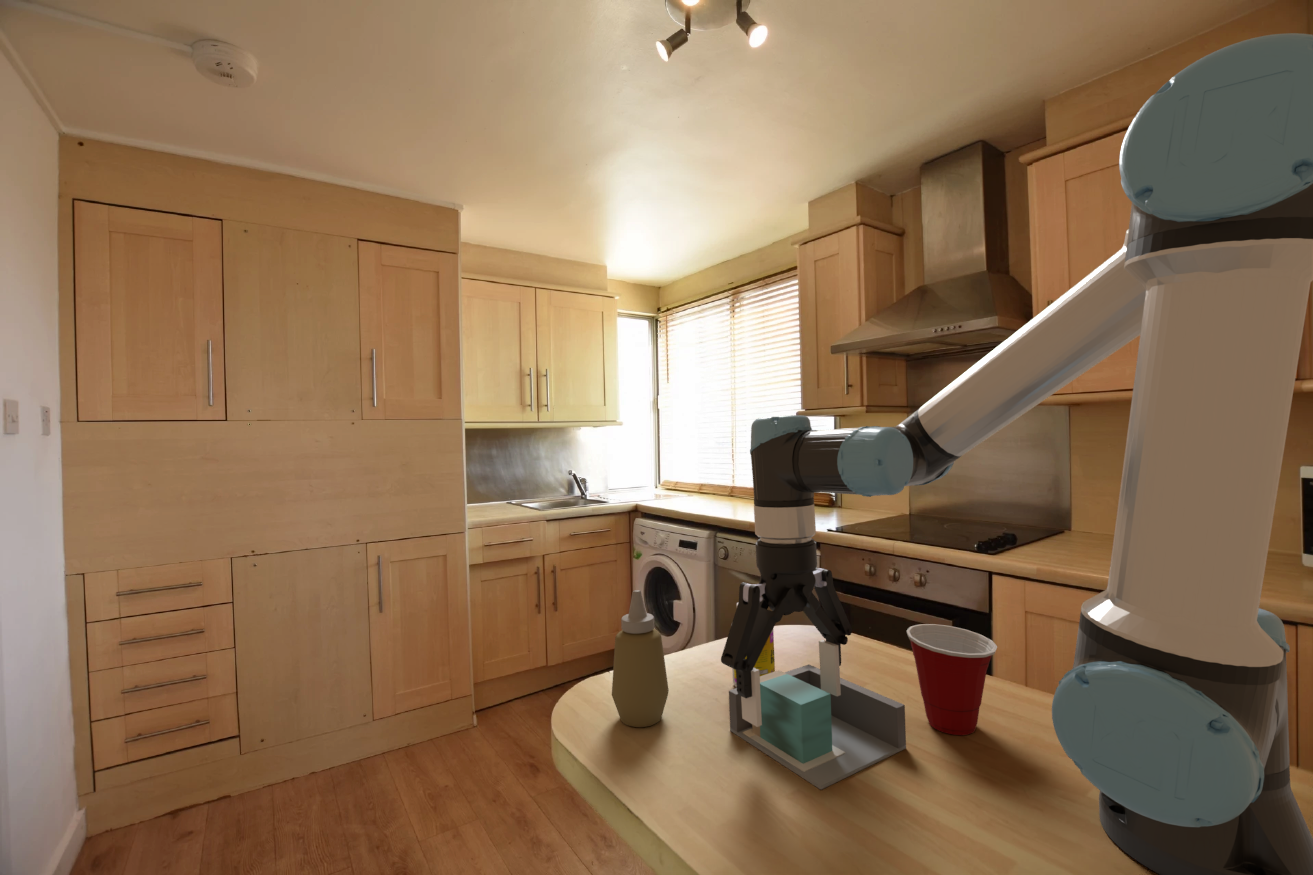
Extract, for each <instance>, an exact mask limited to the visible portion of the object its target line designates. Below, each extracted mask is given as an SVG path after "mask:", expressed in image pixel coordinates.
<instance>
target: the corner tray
mask: <svg viewBox="0 0 1313 875" xmlns="http://www.w3.org/2000/svg"><path fill="white" fill-rule="evenodd" d="M783 672H784V671H783ZM784 673H786V674H788V675H791V676H793V677H795V678H797V679H799V680H801V681H804V682H806V683H808V684H810V685H812V686H815V687H817V688H819V689H821V679H820V667H816V666H814V665H811V664H806V665H802V666H800V667H797V668H794V669H791V670H787V671H785V672H784ZM840 689H841V695H839V696H835V695H832V694H831V723H832V751H831V752H829V753H826V754H824V755H822V756H820V757H817V758H815V759H813V760H811V761H808V762H806V763H804V764H802V763H801V762H799V761H798V760H796V759H794V758H793V757H791V756H790V755H788V754H786V753H785V752H783V751H782V750H780V749H778V748H777V747H775V746H774V745H772V744H770V743H769V742H767V741H765V740H764V739H762V738H761V737H759V736H757V735H756V734H754V733H753V728H752V724H751V723H749V722H748V721H746V720H744V719H742V702H741V696H740V695H738V692H737V687H735V688H731V689H729V690H728V704H729V706H728V707H729V709H728V711H729V732H731V733H733V734H734V735H736V736H738V738H741V739H742V740H743V741H745V742H747V743H748V744H750V745H751V746H753V747H754V748H756V749H757V750H759V751H761V752H762V753H764V754H765V755H767V756H768V757H770V758H771V759H773V760H775V761H776V762H777V763H779V764H781V765H782V766H783V767H786V768H787V769H789V770H790V771H792V772H793V773H794V774H796V775H797V776H799V777H800V778H802V779H804V780H806V782H808V783H810V784H811V785H813V786H815V787H816V788H817V789H818V790H823V789H825V788H828V787H829V786H832V785H833V784H836V783H837V782H840V781H841V780H844V779H846V778H848V777H850V776H852V775H854V774H856V773H858V772H860V771H862V770H865V769H866V768H869V767H870V766H873V765H875V764H876V763H879V762H881V761H883V760H885V759H887V758H889V757H890V756H893V755H895V754H898V753H899V752H902V751H903V750H905V749H907V738H906V737H907V735H906V731H907V730H906V729H907V728H906V709H905V708H906V706H905V704H903V703H902V702H899V701H897V700H895V699H892V698H889V697H887V696H885V695H883V694H879V693H878V692H875V691H873V690H870V689H868V688H866V687H864V686H861V685H859V684H856V683H854V682H851V681H849V680H847V679H844V678H841V677H840Z"/></svg>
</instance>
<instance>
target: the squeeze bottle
mask: <svg viewBox="0 0 1313 875" xmlns="http://www.w3.org/2000/svg"><path fill="white" fill-rule="evenodd" d="M629 604H630V605H629V609H628V613H627V614H624V615H623V616H622V617H621V619H620V620H621V626H620V627H621V630H620V631H618V632H617V633H616V635H615V639H614V653H613V654H614V656H613V667H612V668H613V669H612V670H613V671H612V683H611V684H612V685H611V696H612V700H613V703H614V705H615V707H616V710H617V711H616V712H617V713H618V716H619V719H620V721H621V722H622V724H624V725H626V726H629V727H632V728H635V727H636V728H644V727H645V728H646V727H650V726H653V725H656V724H658V722H660V721H661V720H662V718H663V714H664V711H665V708H666V707H665V706H666V703H667V700H668V696H669V683H668V676H667V670H666V669H667V668H666V660H665V653H664V646H663V639H662V638H663V637H662V634H661V633H660V631H659V630H657V629H656V628H655V616H654V615H653V614H651V613H648V612H647V611H646V607H645V603H644V598H643V594H642V591H641V590H639V589H638V590H637V589H636V590H633V591H632V593H631V600H630V603H629Z"/></svg>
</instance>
